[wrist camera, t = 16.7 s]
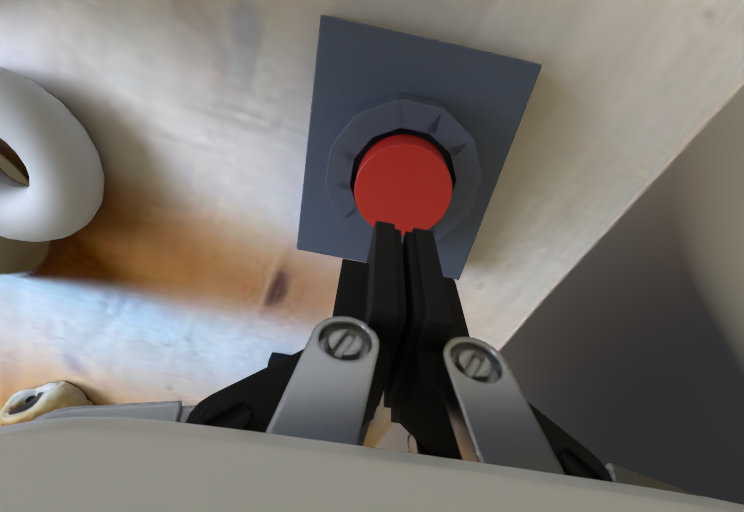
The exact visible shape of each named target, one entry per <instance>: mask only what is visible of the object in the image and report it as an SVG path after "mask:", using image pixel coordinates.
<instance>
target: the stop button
mask: <svg viewBox="0 0 744 512" xmlns="http://www.w3.org/2000/svg"><path fill="white" fill-rule="evenodd" d="M452 191H453V190H452V180H451V176H450V173H449V170H448V167H447V165H446V162H445V160H444V158H443V156H442V154H441V153H440V151H439V150H438V149H437V148H436V147H435V146H434V145H433V144H431V143H430V142H429V141H427V140H425V139H423V138H421V137H418V136H414V135H408V134H399V135H393V136H389V137H387V138H384V139H382V140H380V141H379V142H377V143H376V144H374V145H373V146H372V147H371V148H370V149H369V150H368V151H367V152H366V154H365V155H364V157H363V159H362V160H361V163H360V165H359V169H358V173H357V177H356V181H355V188H354V194H355V201H356V204H357V207H358V209H359V211H360V213H361V214H362V216H363V217H364V219H365V220H366V221H367V222H368V223H369V224H370V225H372V226H373V227H374V226H375V222H376V221H382V222H387V223H392V224H395V229H398V230H401V236H404V235H405V232H406V231H408V232H412V230H413V228H419V229H424V230H428V229H429V228H431V227H432V226H434V225H435V224H436V223H437V222H438V221H439V220H440V219H441V218H442V217H443V215H444V214H445V213H446V211H447V209H448V207H449V204H450V202H451V198H452Z"/></svg>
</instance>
